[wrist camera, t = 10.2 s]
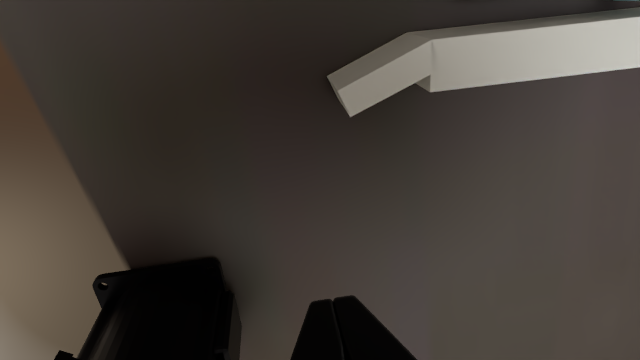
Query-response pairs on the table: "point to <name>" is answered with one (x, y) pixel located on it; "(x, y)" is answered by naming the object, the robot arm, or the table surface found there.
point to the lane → (491, 55)
